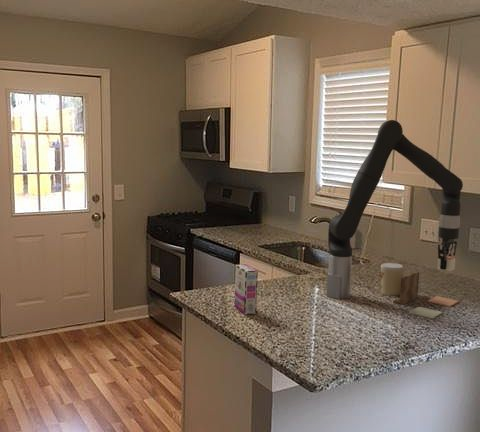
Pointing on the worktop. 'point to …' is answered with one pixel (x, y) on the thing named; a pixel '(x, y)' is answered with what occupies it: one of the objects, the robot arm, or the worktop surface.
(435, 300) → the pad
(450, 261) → the block
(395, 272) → the coffee cup
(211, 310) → the worktop surface
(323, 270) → the worktop surface
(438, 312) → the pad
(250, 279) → the candy bar box
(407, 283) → the screen
